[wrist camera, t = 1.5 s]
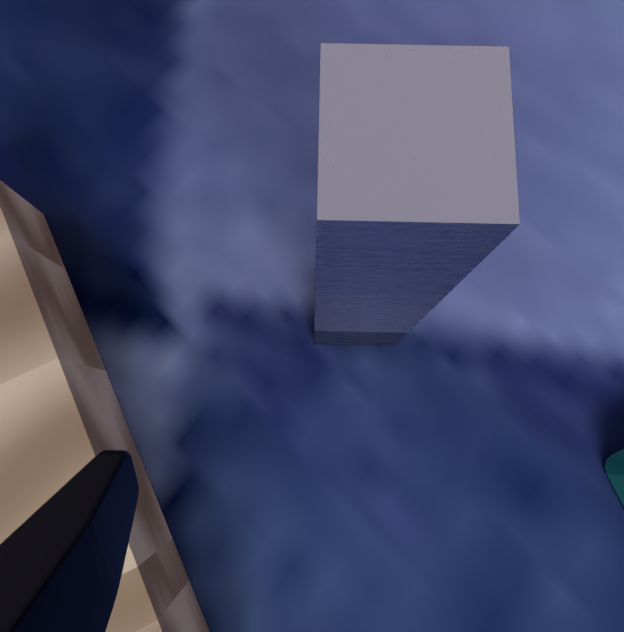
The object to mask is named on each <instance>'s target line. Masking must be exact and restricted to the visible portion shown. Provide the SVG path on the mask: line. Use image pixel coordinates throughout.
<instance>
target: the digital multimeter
mask: <svg viewBox="0 0 624 632" xmlns="http://www.w3.org/2000/svg"><path fill="white" fill-rule="evenodd" d="M605 470H606V474H607V476H608V478H609V480H610V481H611V483H612V485H613V487H614V489H615V491H616V493H617V495H618V497H619V499H620V501H621V503H622V505H623V506H624V449H622V450H620V451H618V452H616V453H614V454H612V455H611V456H610V457H608V458H607V460H606V463H605Z"/></svg>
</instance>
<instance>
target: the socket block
mask: <svg viewBox="0 0 624 632" xmlns="http://www.w3.org/2000/svg"><path fill="white" fill-rule="evenodd" d="M104 450H125V451H128V452H129V453H130V454H131V457H132V460H133V464H134V468H135V472H136V476H137V480H138V484H139V495H138V501H137V506H136V511H135V515H134V520H133V525H132V529H131V534H130V538H129V543H128V548H127V552H126V557H125V562H124V566H123V571H122V576H121V580H120V584H119V589H118V593H117V596H116V600H115V603H114V606H113V610H112V613H111V616H110V619H109V622H108V625H107V628H106V631H105V632H210V631H209V629H208V626H207V624H206V621H205V619H204V616H203V614H202V611H201V609H200V606H199V604H198V601H197V599H196V596H195V594H194V591H193V589H192V586H191V584H190V581H189V579H188V576H187V574H186V571H185V569H184V566H183V563H182V561H181V558H180V556H179V553H178V551H177V548H176V546H175V543H174V541H173V538H172V536H171V533H170V531H169V528H168V526H167V523H166V521H165V518H164V516H163V513H162V511H161V508H160V506H159V503H158V501H157V498H156V496H155V493H154V491H153V488H152V486H151V483H150V480H149V478H148V475H147V473H146V470H145V468H144V465H143V463H142V460H141V458H140V455H139V453H138V450H137V448H136V445H135V443H134V440H133V438H132V435H131V433H130V430H129V428H128V425H127V423H126V420H125V418H124V415H123V413H122V410H121V408H120V405H119V403H118V400H117V397H116V395H115V392H114V390H113V387H112V385H111V382H110V380H109V377H108V375H107V372H106V370H105V367H104V365H103V362H102V360H101V357H100V355H99V352H98V350H97V347H96V345H95V342H94V340H93V337H92V335H91V332H90V330H89V327H88V325H87V322H86V319H85V317H84V314H83V312H82V309H81V307H80V304H79V302H78V299H77V297H76V294H75V292H74V289H73V287H72V284H71V282H70V279H69V277H68V274H67V272H66V269H65V267H64V264H63V262H62V259H61V257H60V254H59V252H58V249H57V247H56V244H55V242H54V239H53V236H52V234H51V231H50V229H49V226H48V224H47V221H46V219H45V216H44V214H43V213H41V212H40V211H39V210H38V209H36V208H35V207H34V206H32V205H31V204H30V203H29V202H27V201H26V200H25V199H24V198H22V197H21V196H20V195H18V194H17V193H16V192H15V191H13V190H12V189H11V188H10V187H8V186H7V185H6V184H4V183H3V182H2V181H1V180H0V544H1V543H2V542H3V541H4V540H5V539H6V538H7V537H8V536H10V535H11V534H12V533H13V532H14V531H15V530H16V529H17V528H18V527H19V526H20V525H21V524H23V523H24V522H25V521H26V520H27V519H28V518H29V517H30V516H31V515H32V514H33V513H34V512H36V511H37V510H38V509H39V508H40V507H41V506H42V505H43V504H44V503H45V502H46V501H47V500H48V499H50V498H51V497H52V496H53V495H54V494H55V493H56V492H57V491H58V490H59V489H60V488H61V487H63V486H64V485H65V484H66V483H67V482H68V481H69V480H70V479H71V478H72V477H73V476H74V475H75V474H77V473H78V472H79V471H80V470H81V469H82V468H83V467H84V466H85V465H86V464H87V463H88V462H90V461H91V460H92V459H93V458H94V457H95V456H96V455H97V454H98V453H100V452H101V451H104Z"/></svg>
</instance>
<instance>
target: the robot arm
mask: <svg viewBox="0 0 624 632" xmlns="http://www.w3.org/2000/svg"><path fill="white" fill-rule="evenodd" d="M138 495H139V484H138V480H137V476H136V472H135V468H134V464H133V460H132V457H131V454H130V453H129V452H128V451H125V450H104V451H101V452H100V453H98V454H97V455H96V456H95V457H94V458H93V459H92V460H91V461H90V462H88V463H87V464H86V465H85V466H84V467H83V468H82V469H81V470H80V471H79V472H78V473H77V474H75V475H74V476H73V477H72V478H71V479H70V480H69V481H68V482H67V483H66V484H65V485H64V486H63V487H61V488H60V489H59V490H58V491H57V492H56V493H55V494H54V495H53V496H52V497H51V498H50V499H48V500H47V501H46V502H45V503H44V504H43V505H42V506H41V507H40V508H39V509H38V510H37V511H36V512H34V513H33V514H32V515H31V516H30V517H29V518H28V519H27V520H26V521H25V522H24V523H23V524H21V525H20V526H19V527H18V528H17V529H16V530H15V531H14V532H13V533H12V534H11V535H10V536H8V537H7V538H6V539H5V540H4V541H3V542H2V543H1V544H0V632H105V631H106V628H107V625H108V622H109V619H110V616H111V613H112V610H113V606H114V603H115V600H116V596H117V593H118V589H119V584H120V580H121V576H122V571H123V566H124V562H125V557H126V552H127V548H128V543H129V538H130V534H131V529H132V525H133V520H134V515H135V511H136V506H137V501H138Z"/></svg>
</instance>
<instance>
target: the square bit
mask: <svg viewBox="0 0 624 632" xmlns="http://www.w3.org/2000/svg"><path fill="white" fill-rule="evenodd" d="M519 224H520V220H519V203H518V187H517V171H516V154H515V138H514V122H513V105H512V89H511V73H510V56H509V47H501V46H449V45H397V44H345V43H321V56H320V101H319V146H318V191H317V236H316V281H315V327H314V344H340V345H386V346H394V345H395V344H396V343H397V342H398V341H399V340H400V339H402V338H403V337H404V336H405V335H406V334H407V333H408V332H409V331H410V330H411V329H412V328H413V327H414V326H415V325H416V324H417V323H418V322H419V321H420V320H421V319H422V318H423V317H424V316H425V315H426V314H427V313H428V312H429V311H430V310H432V309H433V308H434V307H435V306H436V305H437V304H438V303H439V302H440V301H441V300H442V299H443V298H444V297H445V296H446V295H447V294H448V293H449V292H450V291H451V290H452V289H453V288H454V287H455V286H456V285H457V284H458V283H459V282H460V281H462V280H463V279H464V278H465V277H466V276H467V275H468V274H469V273H470V272H471V271H472V270H473V269H474V268H475V267H476V266H477V265H478V264H479V263H480V262H481V261H482V260H483V259H484V258H485V257H486V256H487V255H488V254H489V253H490V252H492V251H493V250H494V249H495V248H496V247H497V246H498V245H499V244H500V243H501V242H502V241H503V240H504V239H505V238H506V237H507V236H508V235H509V234H510V233H511V232H512V231H513V230H514V229H515V228H516V227H517V226H518V225H519Z"/></svg>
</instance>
